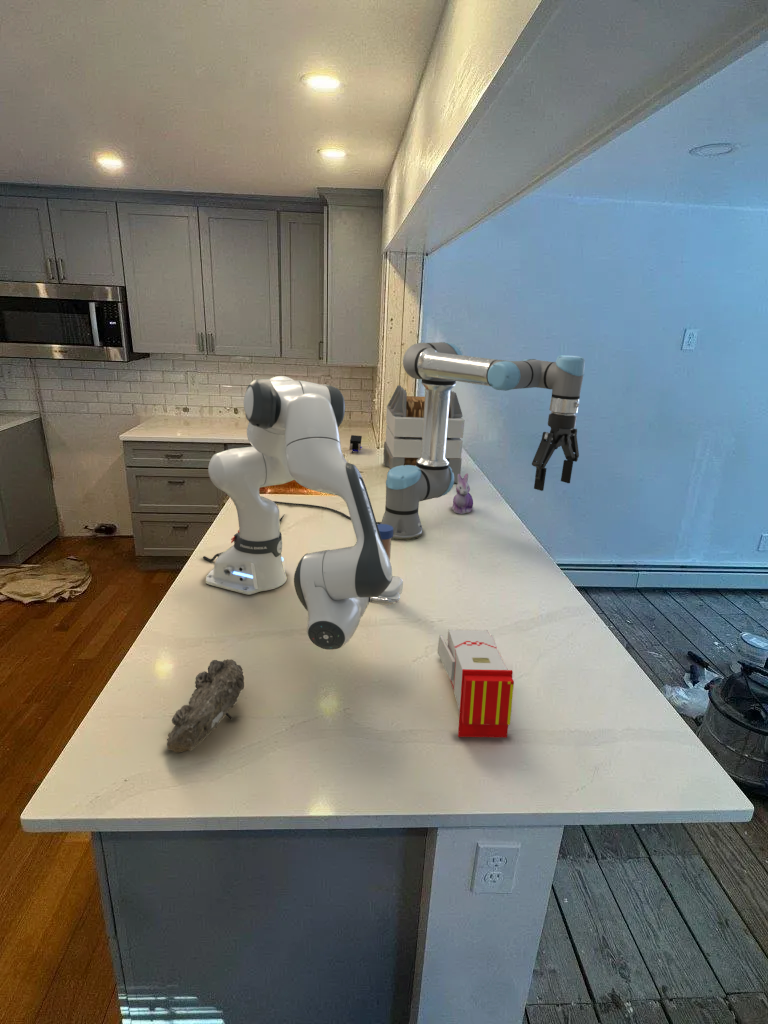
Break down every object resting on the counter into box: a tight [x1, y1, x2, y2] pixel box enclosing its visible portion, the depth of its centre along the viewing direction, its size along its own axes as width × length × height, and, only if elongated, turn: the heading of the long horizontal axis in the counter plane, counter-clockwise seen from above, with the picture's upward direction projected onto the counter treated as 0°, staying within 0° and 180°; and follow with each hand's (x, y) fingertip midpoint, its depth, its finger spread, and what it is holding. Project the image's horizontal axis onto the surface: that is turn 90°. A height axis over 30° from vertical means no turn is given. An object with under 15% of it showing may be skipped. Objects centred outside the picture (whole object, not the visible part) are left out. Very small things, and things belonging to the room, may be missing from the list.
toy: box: [437, 628, 515, 738], centre depth 117 cm, size 12×13×30 cm
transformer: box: [383, 384, 465, 484], centre depth 268 cm, size 34×33×41 cm
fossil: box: [166, 658, 245, 754], centre depth 106 cm, size 22×10×15 cm
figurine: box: [451, 473, 474, 515], centre depth 223 cm, size 9×10×15 cm
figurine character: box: [349, 434, 363, 454], centre depth 310 cm, size 7×8×15 cm
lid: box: [377, 524, 393, 540], centre depth 150 cm, size 6×6×2 cm
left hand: (364, 569), depth 131 cm, fingers open, 8 cm apart
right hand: (552, 485), depth 166 cm, fingers open, 13 cm apart
